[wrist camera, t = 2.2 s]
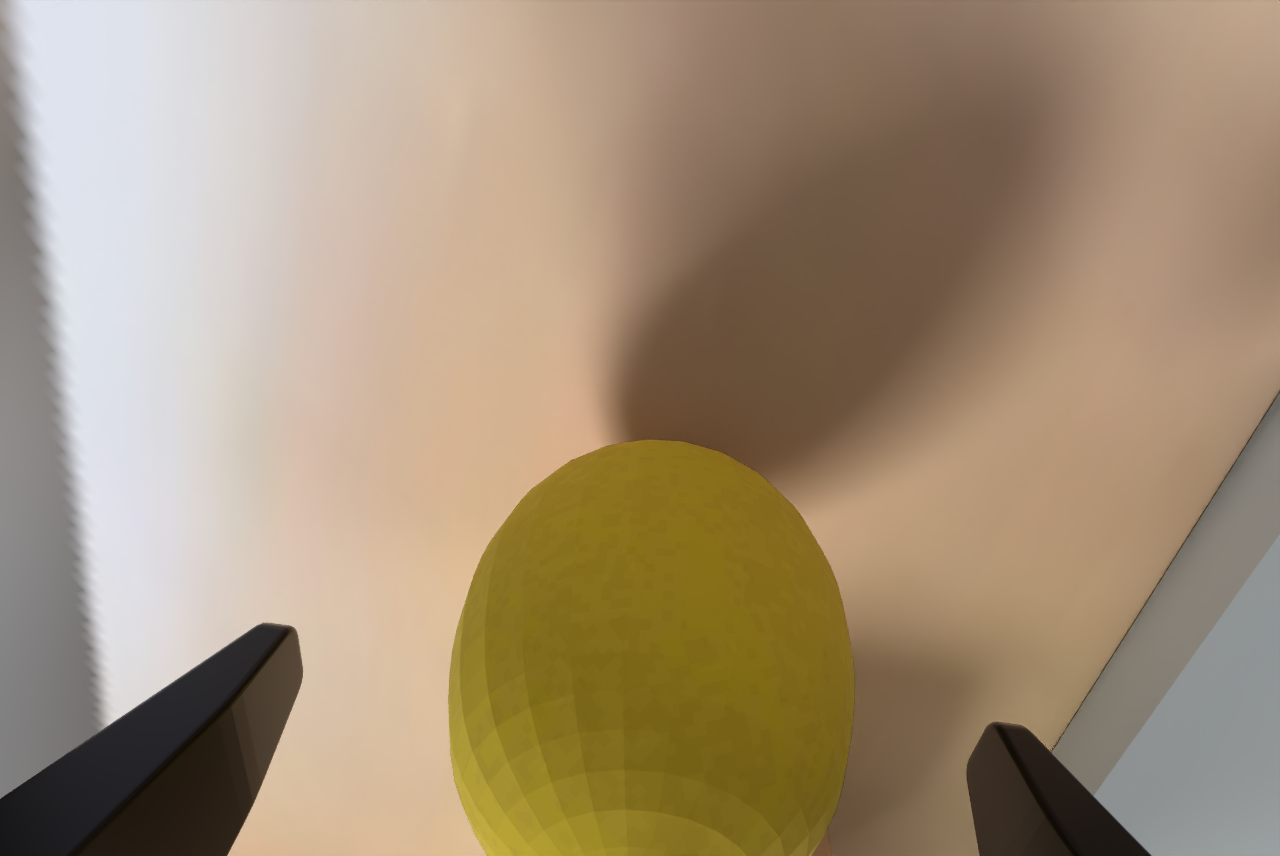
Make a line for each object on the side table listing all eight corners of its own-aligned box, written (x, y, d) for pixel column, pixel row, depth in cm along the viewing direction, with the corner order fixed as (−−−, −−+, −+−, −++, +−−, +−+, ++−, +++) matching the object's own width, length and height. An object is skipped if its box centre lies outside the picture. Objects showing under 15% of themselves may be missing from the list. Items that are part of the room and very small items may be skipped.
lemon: (839, 564, 15) (963, 1060, 8) (581, 622, 16) (497, 1093, 9) (767, 317, 12) (858, 727, 5) (469, 407, 14) (236, 833, 7)
